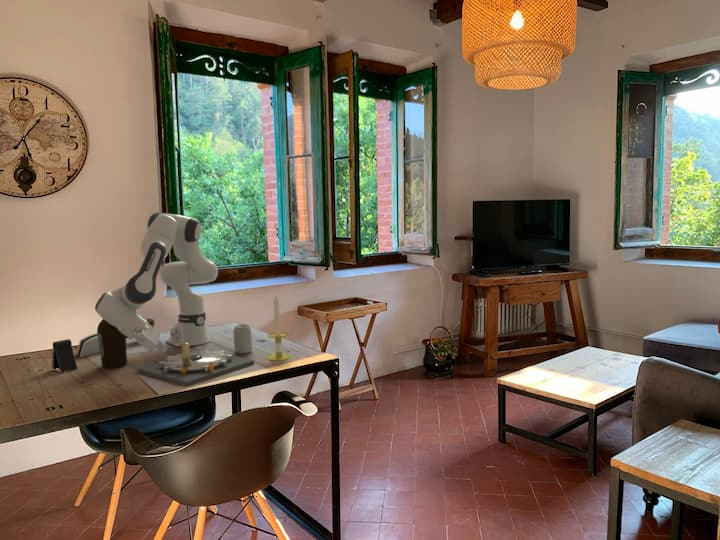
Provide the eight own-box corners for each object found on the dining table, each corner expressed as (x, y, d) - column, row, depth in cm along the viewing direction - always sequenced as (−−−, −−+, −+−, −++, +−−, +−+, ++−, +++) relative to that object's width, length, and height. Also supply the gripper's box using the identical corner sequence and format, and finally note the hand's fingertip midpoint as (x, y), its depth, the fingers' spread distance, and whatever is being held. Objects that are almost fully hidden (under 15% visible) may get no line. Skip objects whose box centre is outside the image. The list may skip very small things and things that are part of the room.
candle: (294, 354, 233) (291, 292, 230) (285, 361, 224) (282, 296, 220) (273, 353, 236) (269, 292, 233) (263, 360, 226) (259, 295, 223)
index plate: (137, 372, 215) (136, 358, 215) (204, 353, 241) (203, 341, 240) (186, 386, 196) (185, 371, 195) (254, 363, 221) (253, 350, 221)
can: (254, 350, 243) (252, 323, 242) (249, 354, 236) (247, 327, 235) (237, 350, 244) (236, 323, 243) (232, 354, 237) (230, 327, 235)
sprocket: (145, 367, 215) (143, 339, 214) (203, 351, 237) (202, 326, 236) (187, 378, 199) (185, 348, 198) (245, 360, 221) (244, 333, 220)
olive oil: (128, 360, 233) (123, 302, 230) (129, 367, 223) (124, 306, 220) (100, 364, 228) (95, 305, 225) (100, 371, 219) (94, 309, 216)
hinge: (106, 347, 258) (109, 328, 255) (113, 351, 256) (116, 332, 253) (73, 356, 243) (76, 336, 240) (80, 360, 241) (83, 340, 238)
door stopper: (77, 369, 222) (74, 340, 221) (62, 373, 217) (59, 343, 216) (67, 366, 227) (64, 337, 226) (51, 369, 223) (49, 340, 221)
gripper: (139, 326, 191) (171, 350, 195) (143, 316, 210) (172, 338, 214) (126, 340, 190) (158, 364, 194) (132, 328, 210) (161, 350, 214)
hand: (165, 350), depth 205 cm, fingers closed
